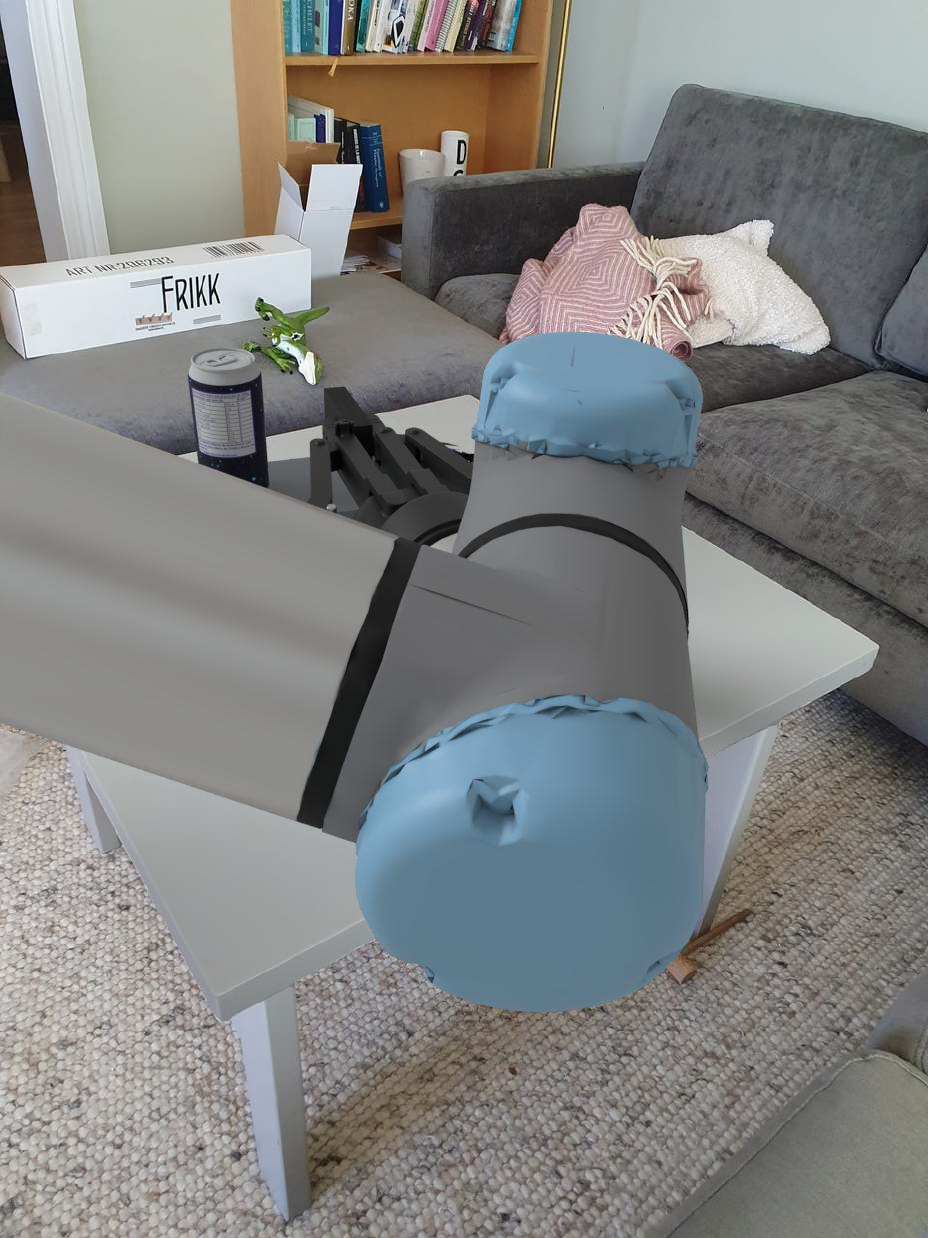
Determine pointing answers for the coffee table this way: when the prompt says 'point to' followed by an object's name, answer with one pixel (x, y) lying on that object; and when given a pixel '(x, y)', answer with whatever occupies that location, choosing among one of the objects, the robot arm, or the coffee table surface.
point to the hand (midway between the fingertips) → (334, 405)
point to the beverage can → (229, 413)
